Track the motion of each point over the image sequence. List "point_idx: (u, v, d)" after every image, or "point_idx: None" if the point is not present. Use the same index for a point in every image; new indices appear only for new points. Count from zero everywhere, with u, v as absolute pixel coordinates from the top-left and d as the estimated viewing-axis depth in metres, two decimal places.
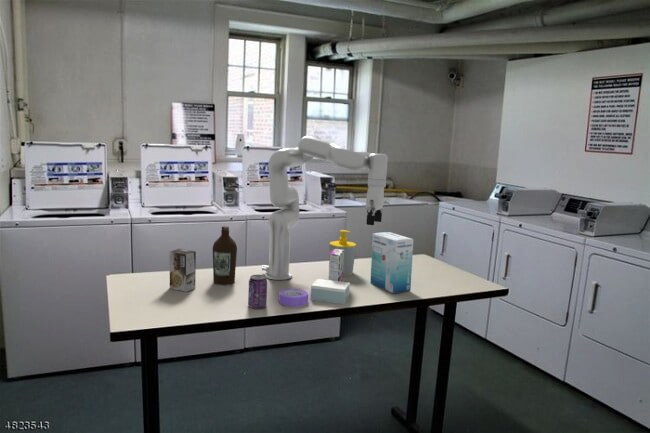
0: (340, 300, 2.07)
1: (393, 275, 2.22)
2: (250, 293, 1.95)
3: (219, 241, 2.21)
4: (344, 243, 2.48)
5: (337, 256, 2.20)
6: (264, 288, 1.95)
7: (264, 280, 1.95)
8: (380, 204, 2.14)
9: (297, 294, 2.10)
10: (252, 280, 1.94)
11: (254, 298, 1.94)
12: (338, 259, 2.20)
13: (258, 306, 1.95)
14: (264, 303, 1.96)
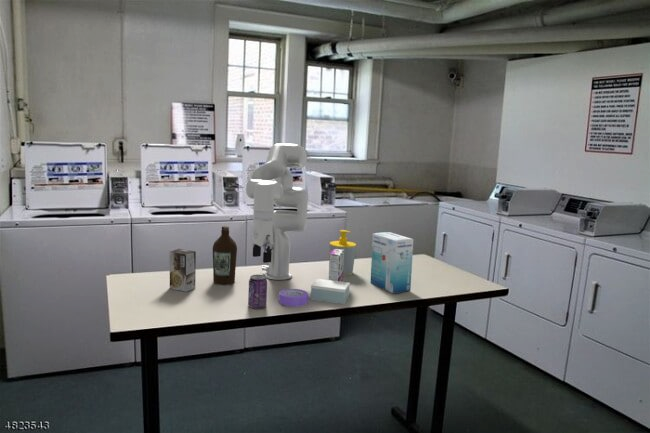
0: (340, 300, 2.07)
1: (393, 275, 2.22)
2: (250, 293, 1.95)
3: (219, 241, 2.21)
4: (344, 243, 2.48)
5: (337, 256, 2.20)
6: (264, 288, 1.95)
7: (264, 280, 1.95)
8: None
9: (297, 294, 2.10)
10: (252, 280, 1.94)
11: (254, 298, 1.94)
12: (338, 259, 2.20)
13: (258, 306, 1.95)
14: (264, 303, 1.96)
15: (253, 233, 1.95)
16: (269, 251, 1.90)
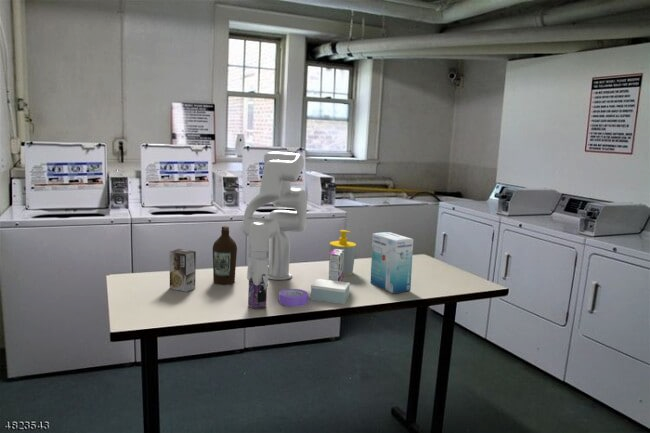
0: (340, 300, 2.07)
1: (393, 275, 2.22)
2: (250, 293, 1.95)
3: (219, 241, 2.21)
4: (344, 243, 2.48)
5: (337, 256, 2.20)
6: None
7: None
8: None
9: (297, 294, 2.10)
10: (252, 280, 1.94)
11: (254, 298, 1.94)
12: (338, 259, 2.20)
13: (258, 306, 1.95)
14: (263, 303, 1.96)
15: (249, 271, 1.97)
16: (263, 291, 1.93)
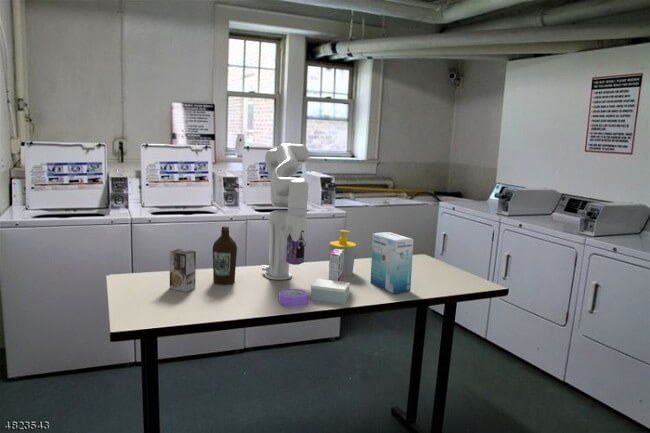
0: (340, 300, 2.07)
1: (393, 275, 2.22)
2: (289, 249, 2.01)
3: (219, 241, 2.21)
4: (344, 243, 2.48)
5: (337, 256, 2.20)
6: None
7: None
8: None
9: (297, 294, 2.10)
10: None
11: (293, 254, 2.00)
12: (338, 259, 2.20)
13: (296, 262, 2.00)
14: (301, 259, 2.02)
15: (287, 229, 2.02)
16: (302, 247, 1.98)
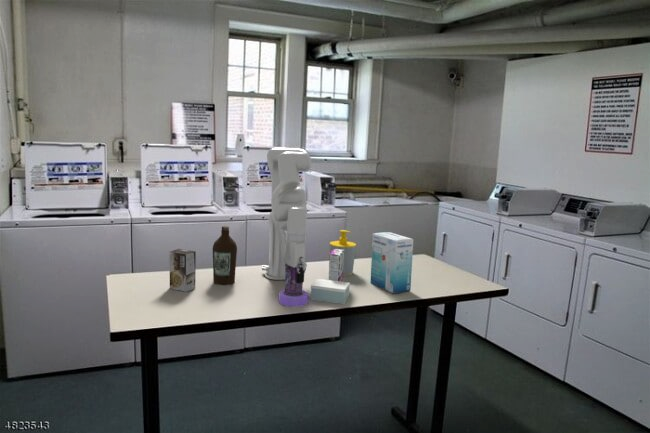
0: (340, 300, 2.07)
1: (393, 275, 2.22)
2: (287, 280, 2.03)
3: (219, 241, 2.21)
4: (344, 243, 2.48)
5: (337, 256, 2.20)
6: None
7: None
8: None
9: (297, 294, 2.10)
10: (289, 267, 2.02)
11: (291, 284, 2.02)
12: (338, 259, 2.20)
13: (295, 292, 2.03)
14: (300, 289, 2.04)
15: (286, 254, 2.04)
16: (302, 272, 1.99)
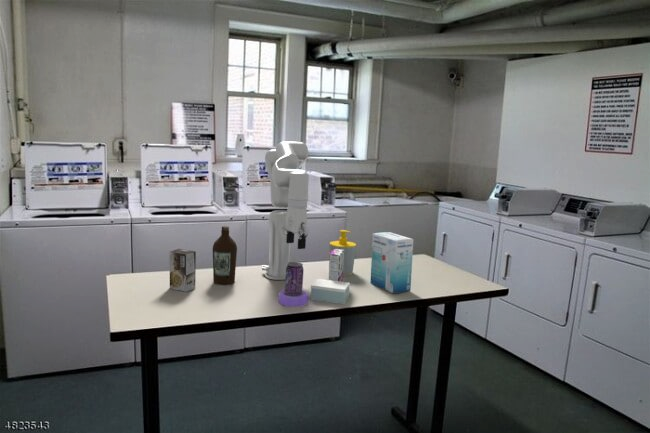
0: (340, 300, 2.07)
1: (393, 275, 2.22)
2: (287, 279, 2.02)
3: (219, 241, 2.21)
4: (344, 243, 2.48)
5: (337, 256, 2.20)
6: (301, 275, 2.03)
7: (301, 267, 2.03)
8: None
9: (297, 294, 2.10)
10: (290, 267, 2.02)
11: (292, 284, 2.02)
12: (338, 259, 2.20)
13: (295, 292, 2.02)
14: (300, 289, 2.03)
15: (287, 220, 2.02)
16: (304, 238, 1.97)
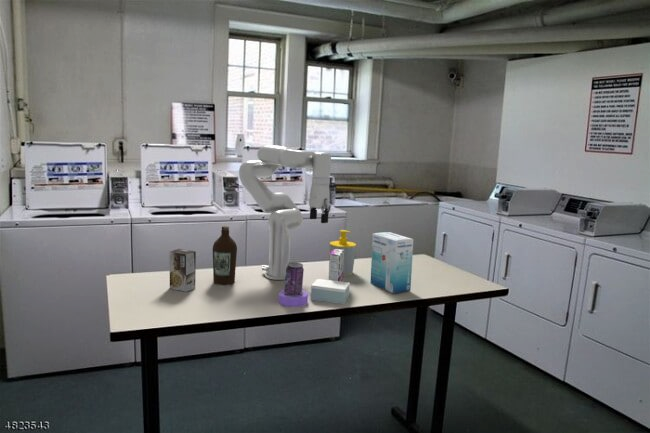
0: (340, 300, 2.07)
1: (393, 275, 2.22)
2: (287, 280, 2.02)
3: (219, 241, 2.21)
4: (344, 243, 2.48)
5: (337, 256, 2.20)
6: (301, 276, 2.02)
7: (301, 268, 2.02)
8: None
9: None
10: (289, 268, 2.01)
11: (291, 285, 2.01)
12: (338, 259, 2.20)
13: (294, 293, 2.02)
14: (299, 290, 2.03)
15: (311, 197, 2.19)
16: (326, 213, 2.14)
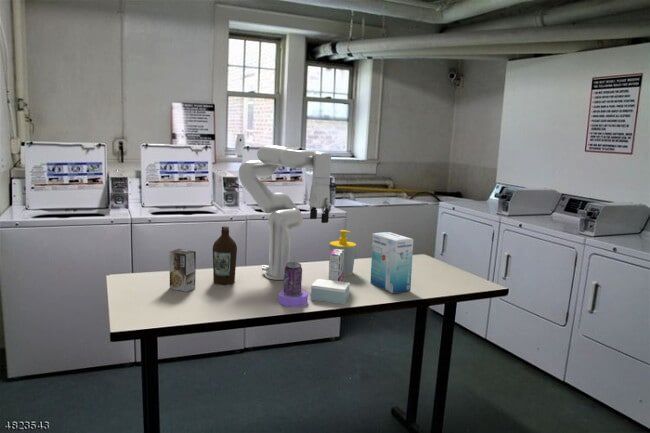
0: (340, 300, 2.07)
1: (393, 275, 2.22)
2: (285, 280, 2.02)
3: (219, 241, 2.21)
4: (344, 243, 2.48)
5: (337, 256, 2.20)
6: (298, 276, 2.01)
7: (299, 268, 2.01)
8: None
9: (297, 294, 2.09)
10: (287, 268, 2.00)
11: (289, 285, 2.01)
12: (338, 259, 2.20)
13: (292, 293, 2.02)
14: (298, 290, 2.02)
15: (311, 197, 2.19)
16: (327, 212, 2.15)
